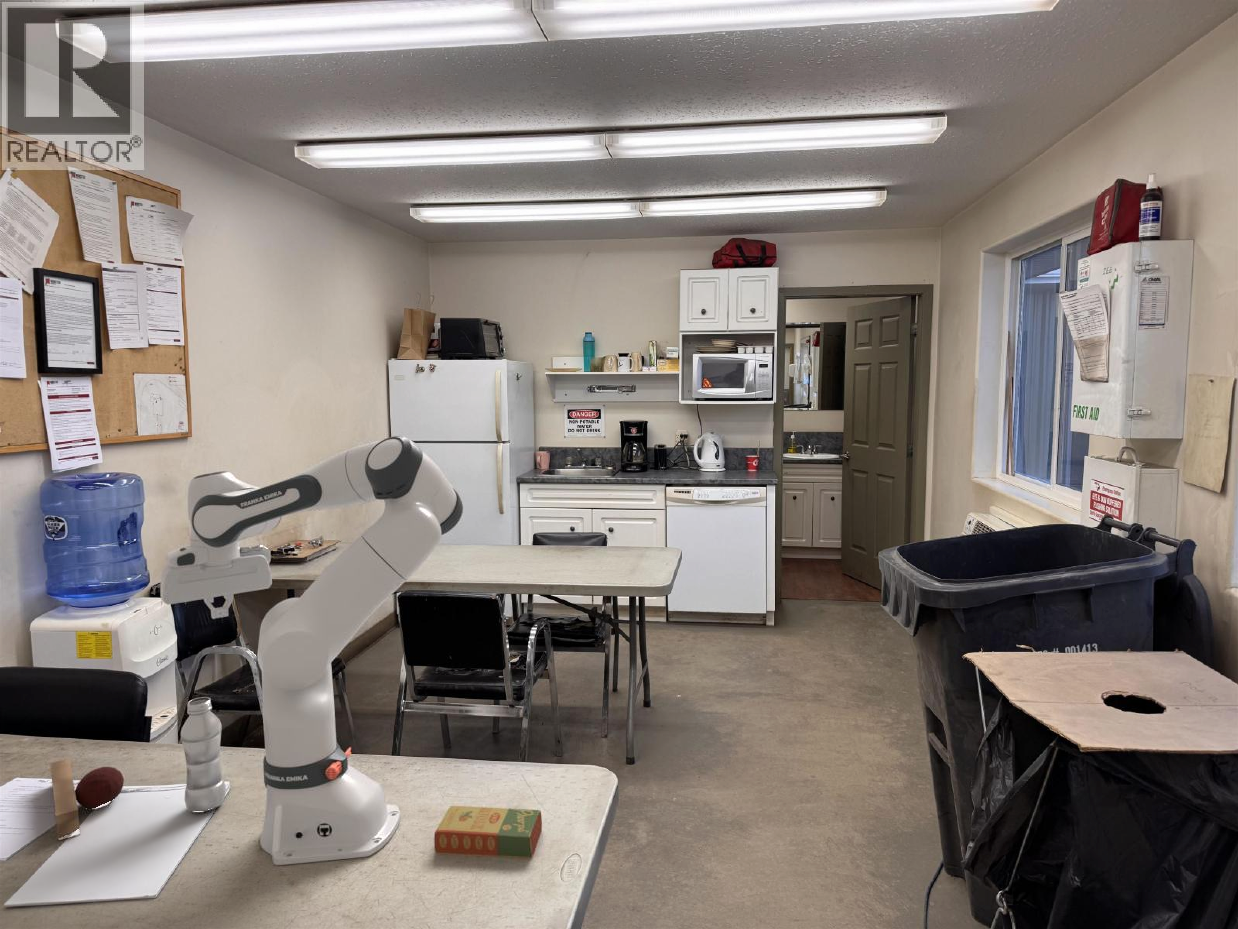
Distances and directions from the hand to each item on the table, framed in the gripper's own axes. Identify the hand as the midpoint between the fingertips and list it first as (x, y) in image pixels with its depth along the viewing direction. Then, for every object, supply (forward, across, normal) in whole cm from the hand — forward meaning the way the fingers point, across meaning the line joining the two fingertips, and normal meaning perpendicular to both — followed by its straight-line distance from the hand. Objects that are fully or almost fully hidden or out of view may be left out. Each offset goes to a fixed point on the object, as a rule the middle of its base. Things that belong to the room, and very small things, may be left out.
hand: (220, 617), depth 156 cm
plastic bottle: (+29, +8, +21) cm, 37 cm away
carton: (+30, -26, +64) cm, 75 cm away
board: (+29, +28, +4) cm, 41 cm away
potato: (+29, +23, +7) cm, 38 cm away
